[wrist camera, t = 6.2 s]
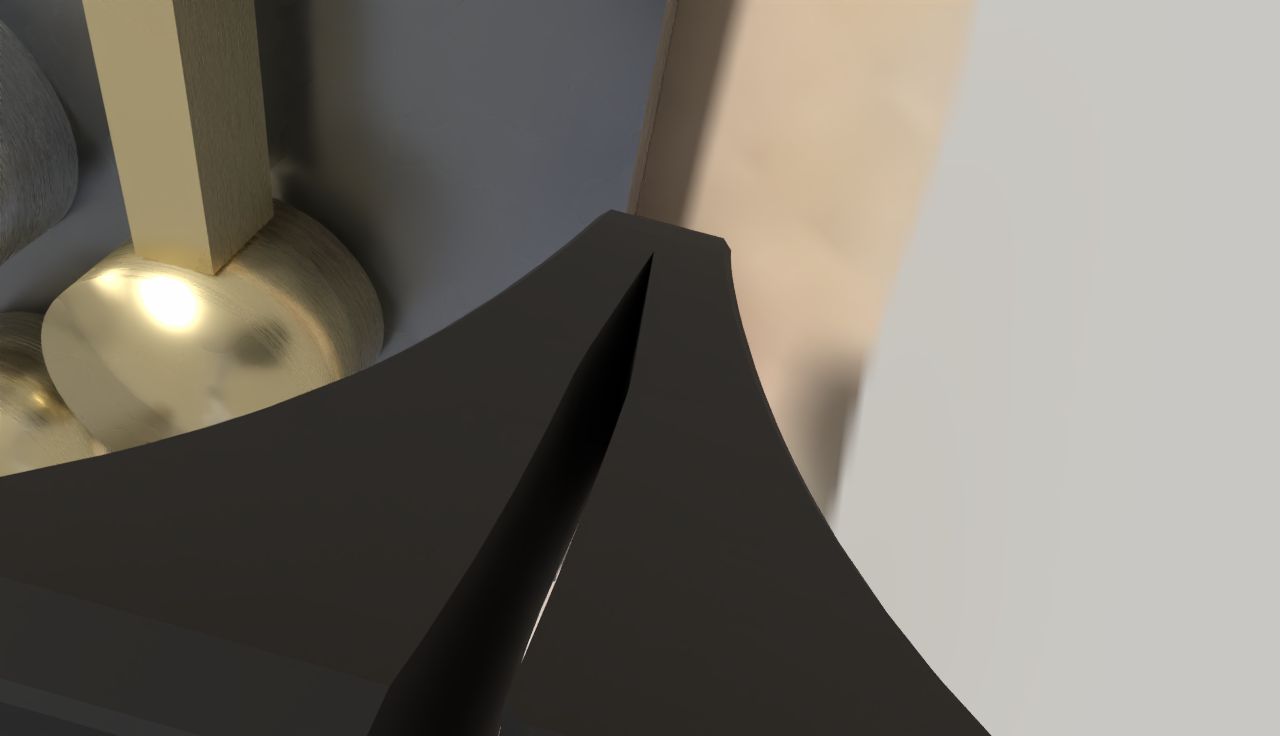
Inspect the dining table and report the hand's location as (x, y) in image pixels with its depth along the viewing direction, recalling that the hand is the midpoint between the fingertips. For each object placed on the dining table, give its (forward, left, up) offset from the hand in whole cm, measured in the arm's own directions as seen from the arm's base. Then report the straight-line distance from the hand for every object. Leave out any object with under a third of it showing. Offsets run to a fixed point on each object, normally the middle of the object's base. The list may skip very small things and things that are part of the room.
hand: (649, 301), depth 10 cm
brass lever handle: (-2, +7, -4) cm, 8 cm away
